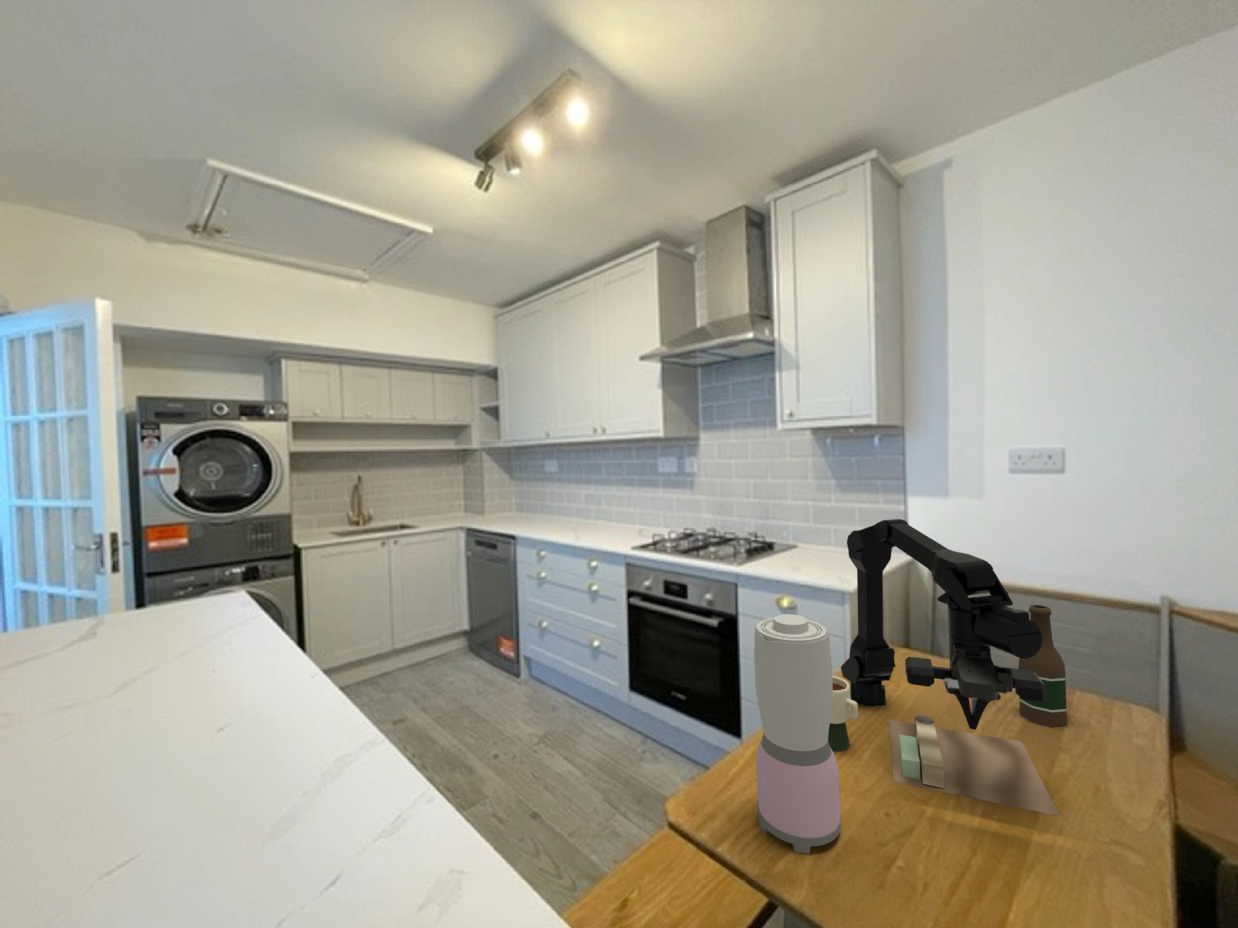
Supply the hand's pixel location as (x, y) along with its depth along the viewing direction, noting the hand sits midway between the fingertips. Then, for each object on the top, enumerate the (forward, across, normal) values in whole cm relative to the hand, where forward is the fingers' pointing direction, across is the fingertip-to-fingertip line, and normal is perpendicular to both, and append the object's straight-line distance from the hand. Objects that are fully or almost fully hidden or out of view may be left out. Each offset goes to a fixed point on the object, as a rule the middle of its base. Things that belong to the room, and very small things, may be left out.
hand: (972, 727), depth 85 cm
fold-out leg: (+8, -6, +3) cm, 11 cm away
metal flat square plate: (+10, -1, +5) cm, 11 cm away
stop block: (+9, -9, +1) cm, 13 cm away
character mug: (+10, -22, +3) cm, 25 cm away
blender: (+10, -25, -18) cm, 33 cm away
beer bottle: (+10, +16, +27) cm, 33 cm away
